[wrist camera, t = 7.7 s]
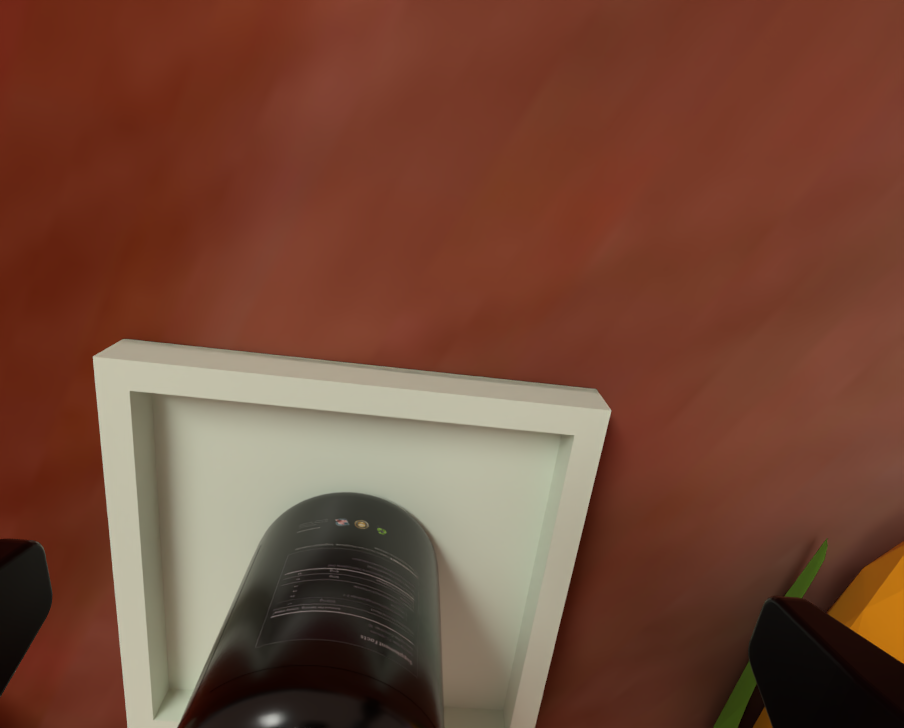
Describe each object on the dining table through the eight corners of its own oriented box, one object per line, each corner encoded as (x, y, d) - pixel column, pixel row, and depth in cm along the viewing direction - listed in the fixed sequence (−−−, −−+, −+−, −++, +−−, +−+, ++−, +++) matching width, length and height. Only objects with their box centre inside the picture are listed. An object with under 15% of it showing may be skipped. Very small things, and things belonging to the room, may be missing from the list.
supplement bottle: (417, 644, 23) (403, 1112, 12) (247, 615, 22) (57, 1088, 11) (460, 503, 21) (494, 913, 9) (273, 465, 20) (67, 864, 9)
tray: (596, 389, 20) (611, 410, 18) (520, 719, 25) (526, 760, 23) (123, 338, 19) (92, 356, 17) (150, 696, 24) (128, 736, 22)
